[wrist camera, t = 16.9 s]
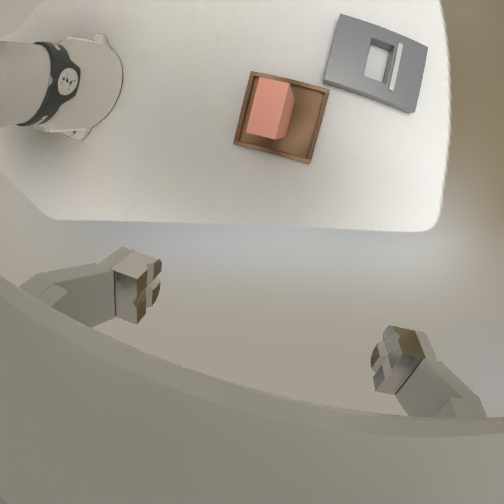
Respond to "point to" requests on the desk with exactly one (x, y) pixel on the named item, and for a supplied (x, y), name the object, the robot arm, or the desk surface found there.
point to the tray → (301, 123)
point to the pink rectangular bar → (271, 109)
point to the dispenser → (397, 69)
